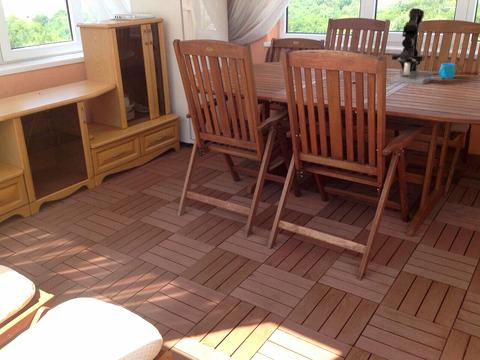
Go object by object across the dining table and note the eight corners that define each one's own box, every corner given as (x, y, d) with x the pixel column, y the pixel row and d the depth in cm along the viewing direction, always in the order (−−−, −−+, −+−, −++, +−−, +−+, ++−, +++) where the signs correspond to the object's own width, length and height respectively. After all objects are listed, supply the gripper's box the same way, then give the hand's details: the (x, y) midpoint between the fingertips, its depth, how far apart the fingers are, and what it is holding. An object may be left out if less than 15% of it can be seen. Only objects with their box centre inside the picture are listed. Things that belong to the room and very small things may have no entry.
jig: (400, 77, 319) (400, 70, 317) (431, 79, 307) (432, 72, 305) (390, 81, 307) (390, 74, 306) (422, 84, 296) (423, 76, 294)
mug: (445, 75, 317) (446, 62, 314) (456, 77, 311) (458, 64, 308) (433, 78, 311) (434, 65, 308) (444, 80, 305) (446, 66, 301)
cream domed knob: (404, 73, 310) (405, 62, 308) (411, 74, 308) (412, 62, 305) (402, 74, 307) (403, 63, 305) (408, 75, 305) (409, 63, 302)
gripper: (389, 46, 301) (387, 72, 307) (419, 48, 290) (417, 75, 296) (396, 44, 309) (394, 69, 315) (426, 45, 298) (423, 72, 304)
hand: (407, 71), depth 307 cm, fingers closed on cream domed knob, 4 cm apart
